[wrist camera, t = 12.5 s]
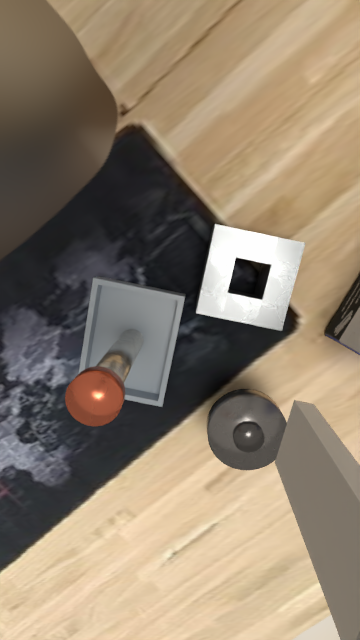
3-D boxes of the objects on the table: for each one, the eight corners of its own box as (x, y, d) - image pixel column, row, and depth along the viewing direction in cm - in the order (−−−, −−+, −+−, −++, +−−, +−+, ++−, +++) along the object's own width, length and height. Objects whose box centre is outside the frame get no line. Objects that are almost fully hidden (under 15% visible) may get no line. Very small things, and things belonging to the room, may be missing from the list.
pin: (117, 320, 40) (69, 368, 24) (151, 327, 40) (125, 379, 24) (112, 353, 41) (61, 420, 24) (145, 359, 41) (116, 431, 25)
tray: (99, 276, 40) (93, 277, 37) (185, 294, 40) (185, 296, 37) (82, 381, 42) (76, 389, 40) (163, 397, 42) (162, 406, 40)
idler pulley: (212, 363, 41) (218, 393, 33) (276, 376, 41) (299, 409, 33) (198, 423, 43) (200, 466, 34) (260, 435, 43) (278, 482, 34)
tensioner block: (212, 227, 38) (215, 224, 33) (290, 244, 38) (305, 242, 33) (195, 305, 40) (195, 313, 35) (270, 321, 40) (281, 330, 35)
